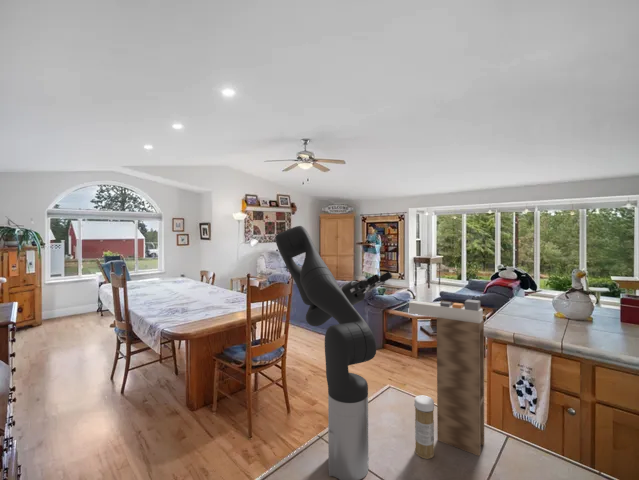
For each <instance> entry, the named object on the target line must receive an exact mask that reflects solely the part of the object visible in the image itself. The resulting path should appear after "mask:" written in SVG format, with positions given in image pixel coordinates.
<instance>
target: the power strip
mask: <svg viewBox="0 0 639 480" xmlns="http://www.w3.org/2000/svg"><path fill="white" fill-rule="evenodd" d="M483 310H484V309H483V308H482V307H481V300H479V299H478V300H476V299H466V300H465V301H464V303H461V302H460V303H459V302H454V303H452V302H450V301H441V302H439V303H438V302H431V301H430V302H428V301H420V300H412V301H410V302H408V313H409V314H413V315H420V316H426V317H427V316H428V317H432V318H438V317H439V318H445V319H452V320H459V321H466V322H473V323H481V322H482V321H483V319H484V317H483V315H484V311H483Z"/></svg>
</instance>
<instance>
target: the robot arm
mask: <svg viewBox="0 0 639 480" xmlns="http://www.w3.org/2000/svg"><path fill="white" fill-rule="evenodd" d="M274 240H275V245H276V246H277V249H278V252H279V254H280V256H281V258H282V261H283V262H284V264H285V267H287V269H288V272H289V273H290V275H291V277H292V280H293V281H294V283H295V285H296V287H297V289H298V293H299V295H300V297H301V300H302V302H303V303H304V304H305V305H307V306H309V307H308V309H307V311H306V314H305V321H306V323H307V324H308V325H310V326H312V327H319V326H322V325H324V324H325V323H326V322H328V321H329V320H330V319H331V318H333V319H334V320H335V321H336V322H338V324H334V325H330V326H329V327H328V328H327V329H326V331H325V334H324V355H325V356H324V357H325V376H326V381H327V392H328V394H327V395H328V397H327V399H328V400H327V403H328V406H327V407H328V410H327V411H328V413H327V414H328V417H327V419H328V424H327V425H328V427H327V428H328V431H327V434H328V435H327V436H328V441H327V443H328V450H327V451H328V476H329V477H334V478H337V479H338V480H362V479H363V478H365V477H366V476H367V474H368V473H369V462H370V461H369V460H370V459H369V458H370V457H369V385H368V384H369V383H368V381H367V379H365V378H364V377H363V376H361V375H359V374H357V373H354V372H350V371H349V366H353V365H358V364H361V363H365V362H369V361H371V360H372V359H374V358H375V356H376V354H377V348H378V347H377V342H376V338H375V335H374V334H373V331H372V330H371V328H370V326H369V324H368V323H367V321H366V320H365V319H364V318H363V317H362V315H361V314H360V313H359V312H358V310H357V309H356V308H355V307H354V305H356V304H359V303H361V302H363V301H365V297H366V293H369V292H372V290H374V289H376V288H378V287H379V286H381V285H385V284H386V282H387V281H388V280H390V279H392V278H393V274H392V273H391V271H387V272H385V273H383V274H382V275H379V274H377V273H376V274H374V275H372V276H370V277H369V278H365V279H362V280H359V281H358V280H351V281H349V282H348V283H346V284H344V285H342V286H341V287H340V285H339V283H338V281H337V280H336V277H335V276H334V275H333V273H332V272H331V270H330V269H329V267H328V266H327V264H326V262H325V261H324V260H323V258H322V257H321V255H320V254H319V251H318V250H317V248H316V246H315V244H314V241H313V240H312V238H311V236H310V234H309V233H308V230H307V229H306V228H305V227H304V226H302V225H297V226H294V227H291V228H288V229H286V230H284V231H281V232H279V233H277V234H276V235H275V239H274ZM302 254H305V256H304V261H303V263H302V266H301V267H300V265H298V264H297V263H296V262H295V260H294V259H293V258H295V257H297V256H301V255H302Z"/></svg>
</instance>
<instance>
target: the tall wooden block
mask: <svg viewBox="0 0 639 480" xmlns="http://www.w3.org/2000/svg"><path fill="white" fill-rule="evenodd" d="M484 325H485V321H484V318H483V321H482V322H481V323H473V322H466V321H459V320H452V319H445V318H439V317H436V394H437V395H436V402H437V405H436V407H437V410H436V411H437V413H436V415H437V420H436V421H437V427H436V428H437V429H436V430H437V437H436V438H437V441H439V442H441V443H443V444H446V445H449V446H452V447H454V448H457V449H458V450H459V449H460V450H462V451H465V452H467V453H470V454H473V455H475V456H477V457H480V456H481V446H484V445H485V338H484V337H485V331H484V330H485V326H484Z"/></svg>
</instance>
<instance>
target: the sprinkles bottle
mask: <svg viewBox="0 0 639 480" xmlns="http://www.w3.org/2000/svg"><path fill="white" fill-rule="evenodd" d="M414 409H415V410H414V411H415V413H414V414H415V415H414V416H415V417H414V418H415V419H414V421H415V422H414V437H415V438H414V439H415V447H414V452H415V454H416V455H417V456H418V457H420V458H422V459H424V460H427V459H428V460H429V459H432V458H433V457H434V456H435V449H434V445H435V443H434V442H435V424H434V423H435V422H434V420H435V419H434V411H435V401H434V399H433V398H432V397H431V396H427V395H422V394H421V395H416V396H415V397H414Z"/></svg>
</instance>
